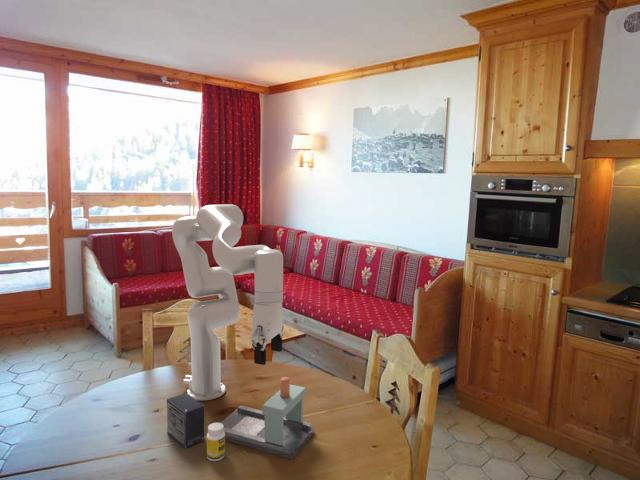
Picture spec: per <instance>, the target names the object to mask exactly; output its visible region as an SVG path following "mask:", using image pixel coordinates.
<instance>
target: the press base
mask: <svg viewBox="0 0 640 480" xmlns="http://www.w3.org/2000/svg"><path fill="white" fill-rule="evenodd" d="M220 423H222V424H223V426H224V432H225V442H226V441H227V442H230V443H234V444H237V445H239V446H240V445H241V446H243V447H247V448H251V449H254V450H258V451H261V452H264V453H268V454H272V455H275V456H278V457H282V458H286V459H288V460H291V461H292V460H294V459H295V457H296V456H297V455H298V453H299V452H300V451H301V450H302V449H303V447H304V446H305V445H306V443H308V441H309V440H310V438H311V437H312V436H313V435H314V433H315V427H312V423H311V422H307V421H304V420H303V421H302V422H297V421H293V420H289V419H286V416H285V417H284V418H283V444H282V445H278V444H274V443H270V442H267V441H265V414H263V410H260V409H256V408H251V407H248V406H246V405H245V406H244V405H239V406H237V408H236V409H235V410H234V411H233V412H231V413H230V414H229V415H228V416H226V417H225V418H224V419H223V420H221V422H220Z"/></svg>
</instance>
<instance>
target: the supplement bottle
mask: <svg viewBox="0 0 640 480" xmlns="http://www.w3.org/2000/svg"><path fill="white" fill-rule="evenodd" d="M225 455H226V440H225V432H224V426H223V424H222V423H221V422H212V423H210V424H209V425H208V426H207V433H206V458H207V459H208V461H210V462H211V461H213V462H217V461H220V460H222V459H223V458H224V457H225Z"/></svg>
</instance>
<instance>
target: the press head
mask: <svg viewBox="0 0 640 480" xmlns="http://www.w3.org/2000/svg"><path fill="white" fill-rule="evenodd" d="M279 382H280V383H279V386H280V388H279V389H278V391H277V392H276V393H274V394H273V395H272V396H271V397H270V398H269V399H268V400H267V401H265V402H264V403H263V404H262V411H263V414H265V441H267V442H270V443H274V444H278V445H282V444H283V418H284V417H286V419H289V420H293V421H297V422H302V421H304V398H305V397H306V387H304V386H300V385H295V384H291V379H290V377H288V376H283V377H281V378H280V381H279Z"/></svg>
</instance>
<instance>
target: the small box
mask: <svg viewBox="0 0 640 480" xmlns="http://www.w3.org/2000/svg"><path fill="white" fill-rule="evenodd" d="M166 406H167V407H166V409H167V412H166V413H167V415H166V417H167V420H166V421H167V429H166V430H167V434H168V436H170V437H172V439H174V440H175V441H176V442H177V443H178V444H180V445H181V446H182V447H183V448H184V449H186V448H189V447H192V446H194V445H195V444H199V443H201V442H203V441H204V440H205V404H203V403H201V402H200V401H199V400H195V399H194V398H192V397H191V396H189V395H188V394H187V392H184V393H182V394H178V395H176V396H173V397H169V398H166Z"/></svg>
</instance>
